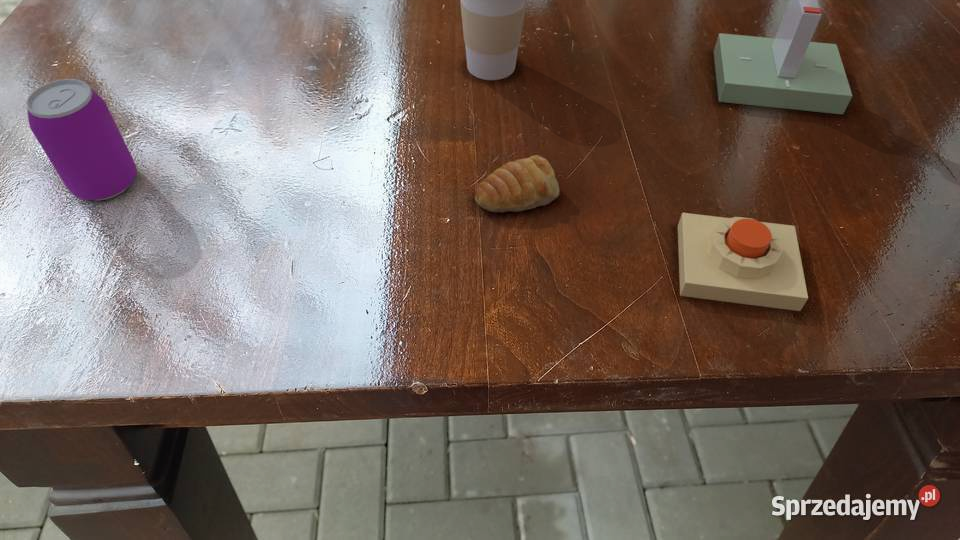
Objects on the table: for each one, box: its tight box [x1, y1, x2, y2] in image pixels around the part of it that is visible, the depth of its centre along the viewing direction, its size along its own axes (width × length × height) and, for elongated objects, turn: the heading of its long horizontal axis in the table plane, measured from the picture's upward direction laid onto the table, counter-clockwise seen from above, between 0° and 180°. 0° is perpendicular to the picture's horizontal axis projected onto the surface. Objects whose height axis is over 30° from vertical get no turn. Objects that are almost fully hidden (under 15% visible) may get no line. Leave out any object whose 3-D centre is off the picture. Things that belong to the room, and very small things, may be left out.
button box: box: [677, 212, 809, 312], centre depth 72 cm, size 12×10×4 cm
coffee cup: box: [459, 0, 528, 81], centre depth 91 cm, size 9×9×15 cm
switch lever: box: [772, 0, 822, 78], centre depth 89 cm, size 7×2×9 cm, turn 171°
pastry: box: [474, 154, 560, 214], centre depth 79 cm, size 9×7×4 cm
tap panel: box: [713, 32, 853, 115], centre depth 94 cm, size 16×12×3 cm
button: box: [727, 218, 772, 259], centre depth 70 cm, size 4×4×2 cm
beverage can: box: [25, 78, 138, 202], centre depth 76 cm, size 8×8×12 cm
